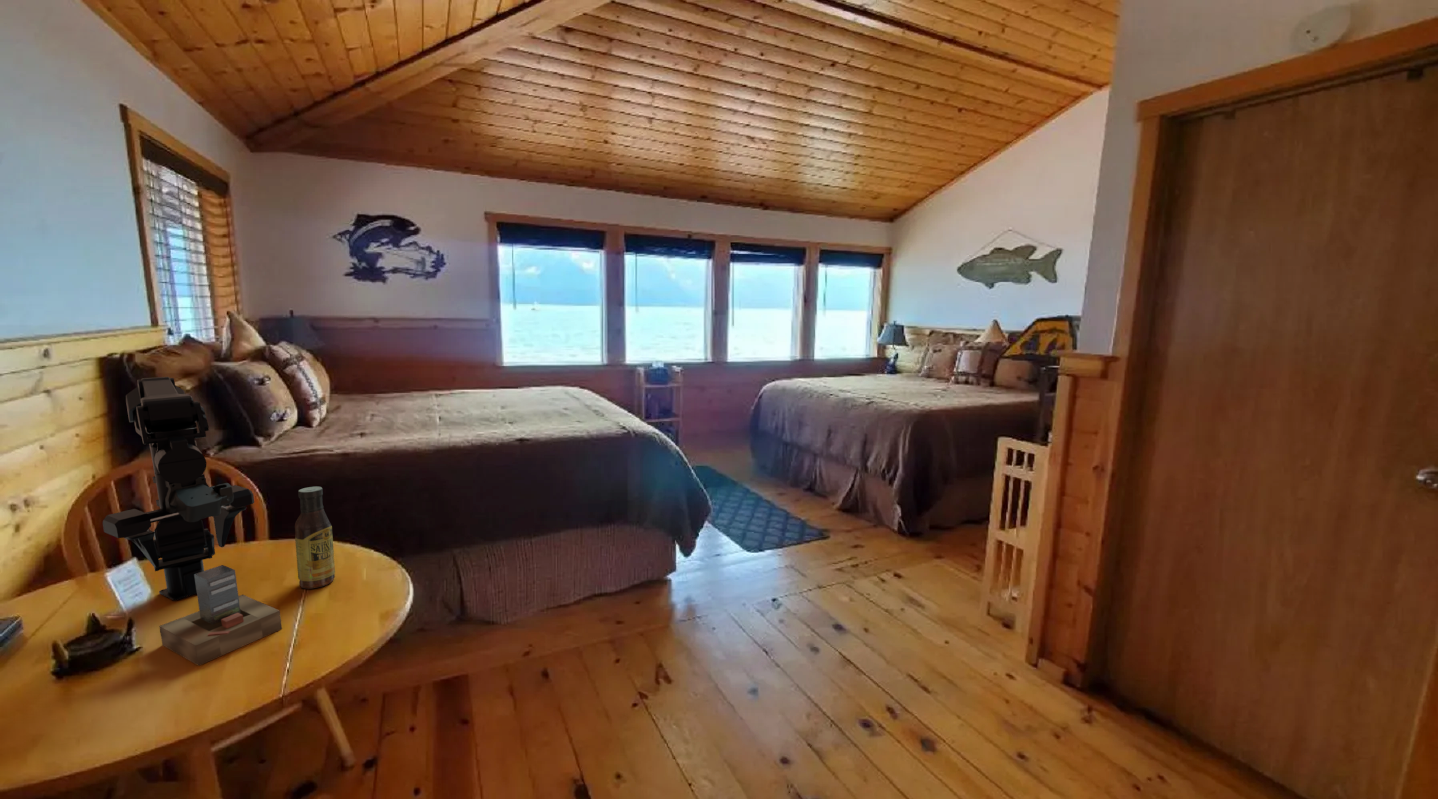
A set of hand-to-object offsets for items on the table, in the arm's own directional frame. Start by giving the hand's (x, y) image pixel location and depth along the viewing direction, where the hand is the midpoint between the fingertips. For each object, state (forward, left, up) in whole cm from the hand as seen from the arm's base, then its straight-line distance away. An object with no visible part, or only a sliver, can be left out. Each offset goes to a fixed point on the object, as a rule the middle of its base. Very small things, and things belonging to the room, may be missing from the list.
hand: (190, 556), depth 103 cm
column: (+8, 0, -9) cm, 12 cm away
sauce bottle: (+2, +19, -13) cm, 23 cm away
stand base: (+8, 0, -13) cm, 15 cm away
